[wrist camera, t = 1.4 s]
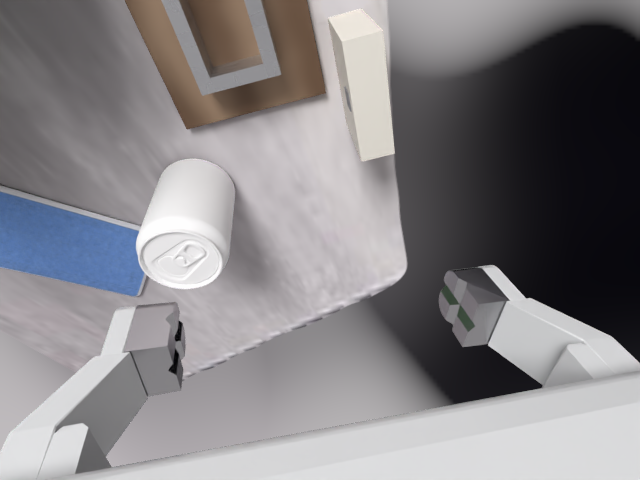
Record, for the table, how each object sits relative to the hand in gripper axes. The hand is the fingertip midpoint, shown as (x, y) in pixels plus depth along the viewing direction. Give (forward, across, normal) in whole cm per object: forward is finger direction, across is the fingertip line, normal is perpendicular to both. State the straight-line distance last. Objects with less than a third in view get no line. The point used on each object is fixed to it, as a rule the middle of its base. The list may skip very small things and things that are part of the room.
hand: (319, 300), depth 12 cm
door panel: (+29, -9, 0) cm, 31 cm away
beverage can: (+32, +7, +12) cm, 35 cm away
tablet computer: (+35, +24, +19) cm, 46 cm away
